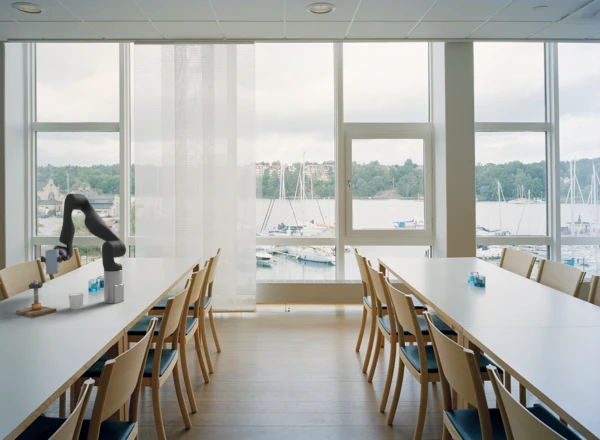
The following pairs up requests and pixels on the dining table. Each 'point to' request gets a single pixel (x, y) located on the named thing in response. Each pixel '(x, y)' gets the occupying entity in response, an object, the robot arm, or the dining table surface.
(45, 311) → the post stand
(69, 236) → the robot arm
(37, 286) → the ring
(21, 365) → the dining table surface
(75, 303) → the white cup
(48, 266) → the sleeve
